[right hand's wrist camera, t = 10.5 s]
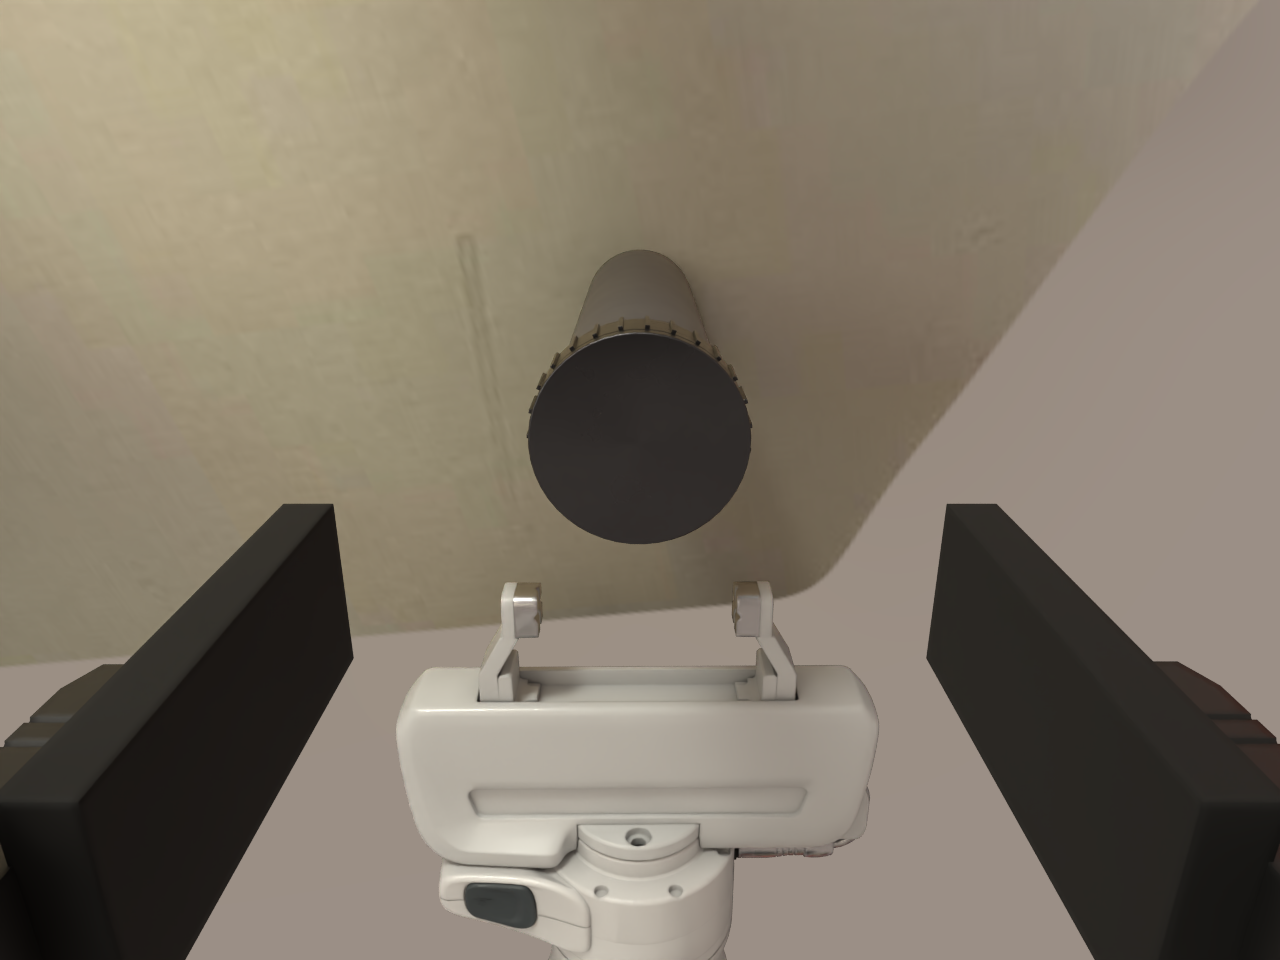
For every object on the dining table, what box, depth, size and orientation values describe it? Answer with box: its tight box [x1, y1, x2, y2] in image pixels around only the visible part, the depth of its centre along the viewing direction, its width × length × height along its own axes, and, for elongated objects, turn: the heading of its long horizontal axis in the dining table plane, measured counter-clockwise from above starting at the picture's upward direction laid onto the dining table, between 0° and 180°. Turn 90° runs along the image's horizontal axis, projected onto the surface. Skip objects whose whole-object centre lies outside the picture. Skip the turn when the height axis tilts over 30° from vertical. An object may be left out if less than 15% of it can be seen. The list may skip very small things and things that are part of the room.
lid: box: [527, 316, 752, 544], centre depth 21 cm, size 5×5×2 cm
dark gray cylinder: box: [569, 250, 710, 345], centre depth 30 cm, size 4×4×19 cm
